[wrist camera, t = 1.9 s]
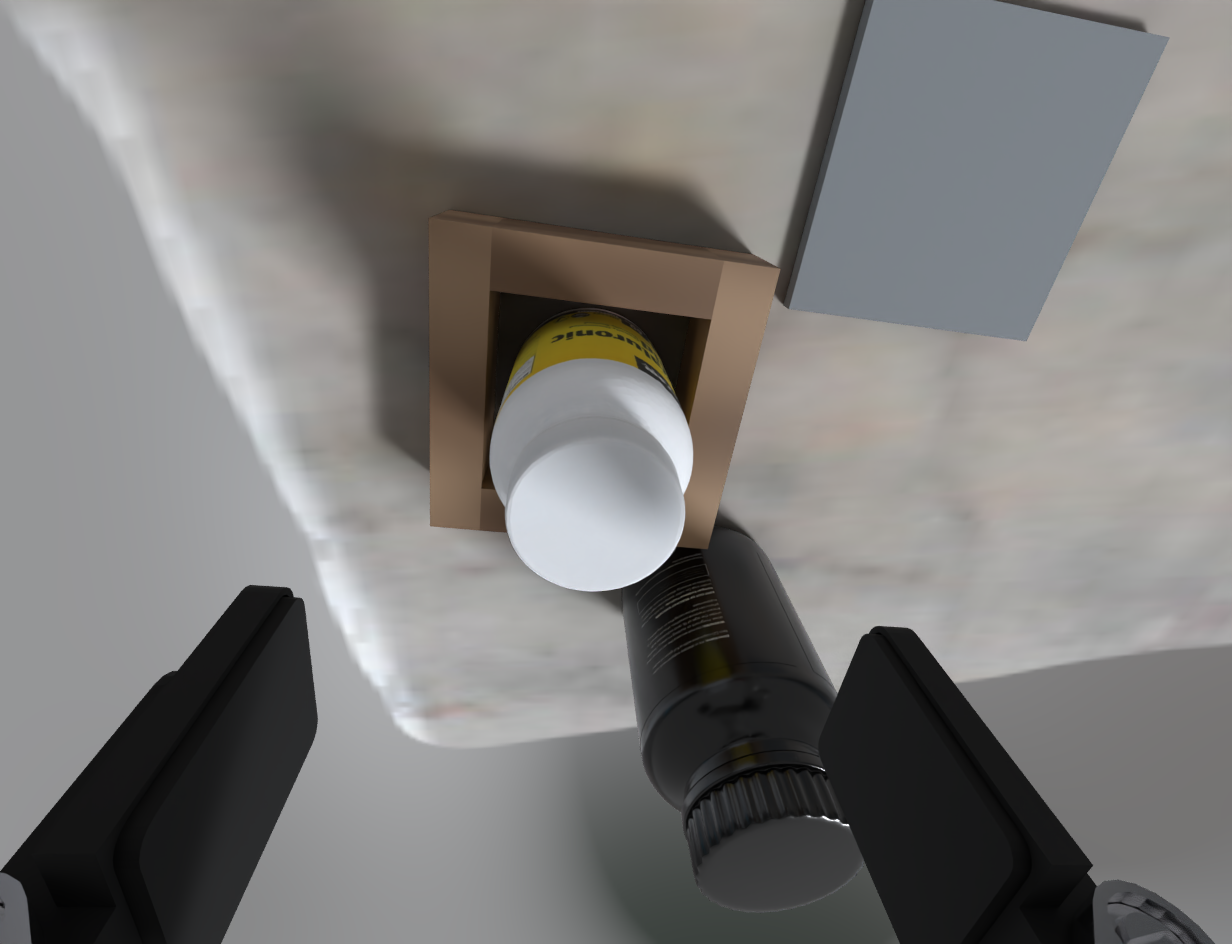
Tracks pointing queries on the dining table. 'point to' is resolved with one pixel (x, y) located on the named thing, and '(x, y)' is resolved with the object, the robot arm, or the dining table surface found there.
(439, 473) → the walnut collar
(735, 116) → the dining table surface
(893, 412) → the dining table surface
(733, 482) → the dining table surface
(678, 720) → the supplement bottle
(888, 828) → the robot arm
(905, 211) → the slate mat
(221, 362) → the dining table surface
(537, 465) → the supplement bottle
